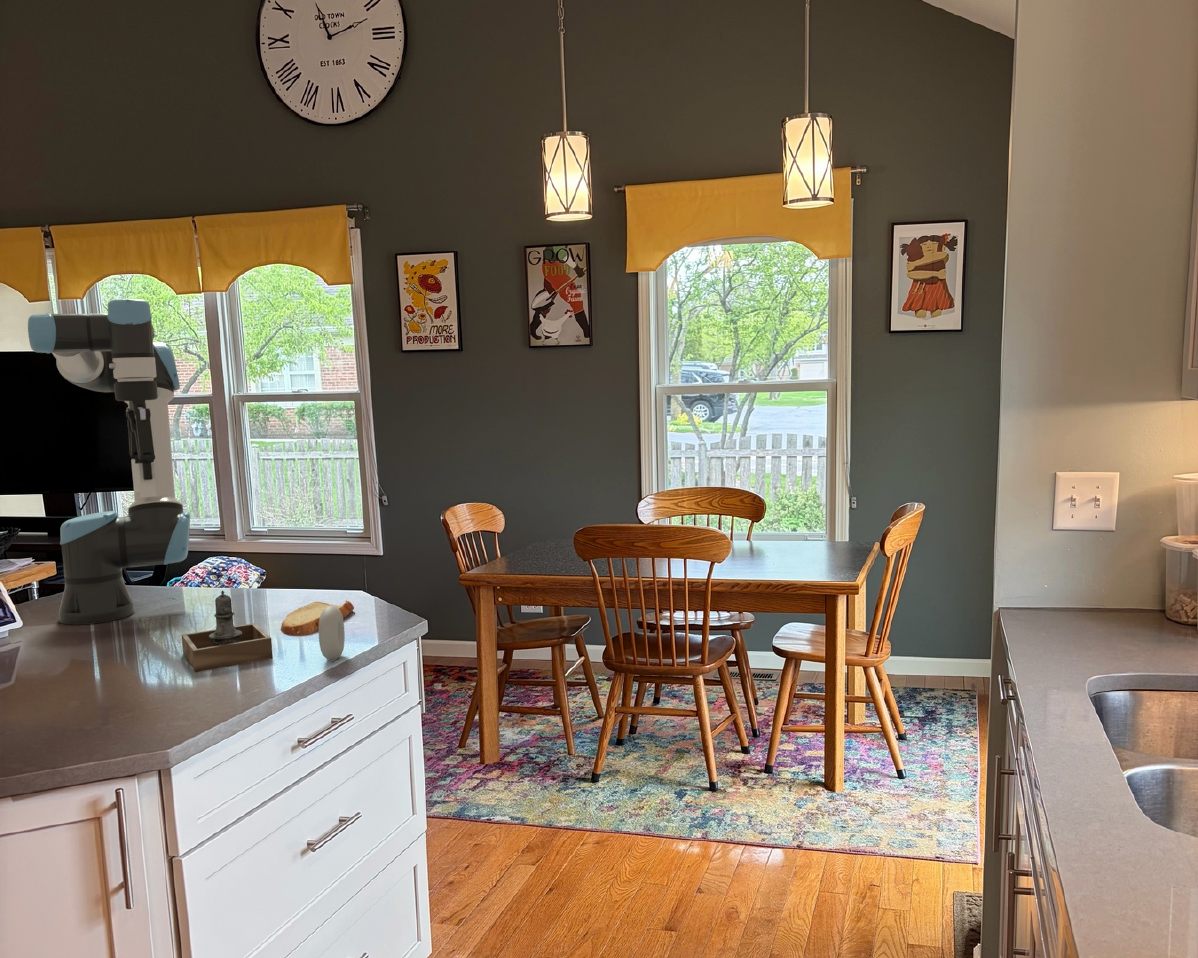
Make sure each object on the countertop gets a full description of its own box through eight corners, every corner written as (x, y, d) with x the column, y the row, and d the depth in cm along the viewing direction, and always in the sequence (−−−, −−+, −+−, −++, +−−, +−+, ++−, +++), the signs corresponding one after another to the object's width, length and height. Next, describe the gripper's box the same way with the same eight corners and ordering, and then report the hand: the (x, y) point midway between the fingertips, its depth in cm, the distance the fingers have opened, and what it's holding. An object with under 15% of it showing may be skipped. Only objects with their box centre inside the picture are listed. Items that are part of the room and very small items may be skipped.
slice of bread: (290, 639, 196) (288, 621, 195) (265, 622, 211) (264, 605, 210) (374, 624, 206) (373, 607, 205) (345, 608, 221) (344, 592, 220)
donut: (329, 652, 184) (325, 600, 183) (347, 651, 184) (344, 599, 183) (318, 667, 174) (315, 613, 173) (338, 666, 175) (334, 612, 173)
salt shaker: (231, 657, 180) (227, 594, 179) (203, 656, 181) (199, 593, 180) (249, 648, 186) (245, 587, 184) (222, 647, 187) (217, 586, 186)
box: (183, 655, 186) (181, 634, 185) (256, 642, 193) (255, 623, 192) (195, 672, 174) (193, 650, 174) (272, 658, 181) (271, 637, 181)
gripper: (107, 381, 196) (117, 490, 198) (120, 380, 177) (131, 501, 179) (148, 379, 199) (157, 487, 202) (164, 379, 181) (174, 497, 183)
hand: (145, 493), depth 191 cm, fingers open, 10 cm apart
